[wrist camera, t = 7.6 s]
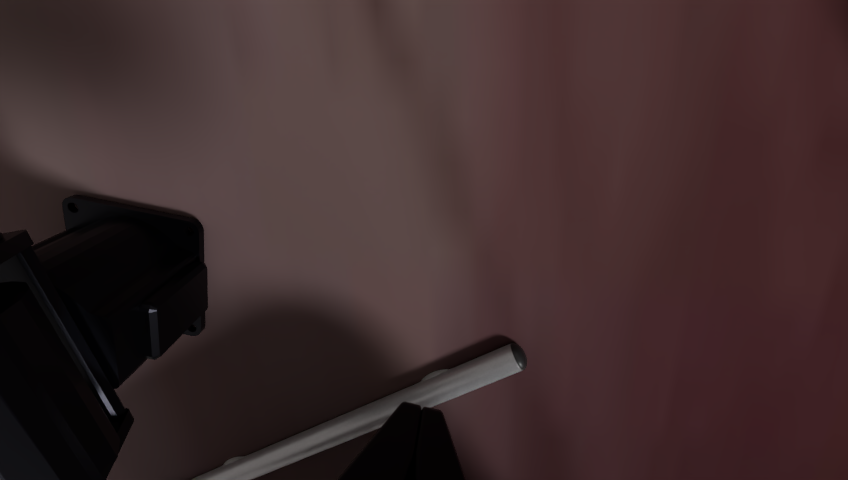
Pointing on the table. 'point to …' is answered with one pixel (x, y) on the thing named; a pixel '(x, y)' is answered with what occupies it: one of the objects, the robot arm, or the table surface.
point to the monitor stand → (374, 414)
